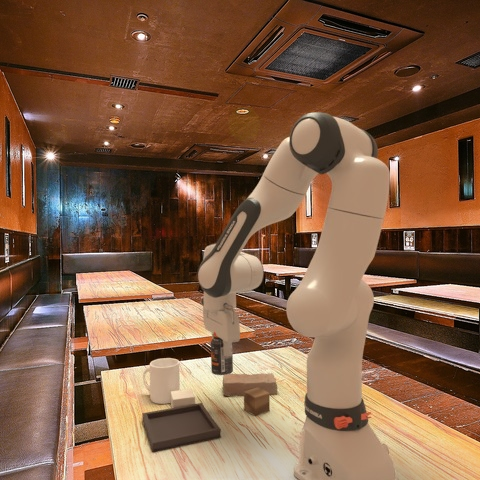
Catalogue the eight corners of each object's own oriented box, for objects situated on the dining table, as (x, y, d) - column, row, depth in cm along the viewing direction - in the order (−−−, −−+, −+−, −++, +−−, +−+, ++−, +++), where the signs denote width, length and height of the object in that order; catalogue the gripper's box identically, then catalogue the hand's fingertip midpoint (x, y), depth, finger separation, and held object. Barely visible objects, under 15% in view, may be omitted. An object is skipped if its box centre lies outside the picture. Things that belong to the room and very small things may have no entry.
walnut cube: (269, 411, 106) (269, 392, 106) (255, 416, 103) (255, 397, 103) (257, 404, 110) (257, 387, 110) (244, 409, 107) (243, 391, 107)
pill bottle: (208, 370, 108) (207, 330, 108) (228, 367, 110) (226, 327, 110) (216, 377, 102) (214, 334, 102) (236, 373, 105) (235, 331, 105)
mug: (152, 389, 122) (151, 355, 122) (185, 395, 117) (184, 359, 117) (134, 400, 114) (134, 363, 114) (169, 406, 109) (168, 368, 109)
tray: (220, 437, 92) (220, 429, 92) (152, 452, 86) (152, 443, 86) (201, 410, 107) (201, 402, 107) (142, 420, 101) (142, 413, 101)
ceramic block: (195, 411, 106) (194, 397, 106) (173, 414, 105) (173, 399, 105) (191, 402, 112) (191, 388, 112) (170, 405, 111) (170, 391, 111)
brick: (273, 385, 125) (273, 370, 125) (278, 395, 117) (277, 380, 117) (222, 387, 124) (222, 372, 124) (223, 398, 115) (223, 382, 115)
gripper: (245, 305, 98) (247, 360, 98) (219, 296, 117) (220, 342, 117) (221, 307, 96) (223, 363, 95) (198, 298, 115) (200, 345, 114)
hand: (221, 351), depth 106 cm, fingers closed on pill bottle, 6 cm apart
